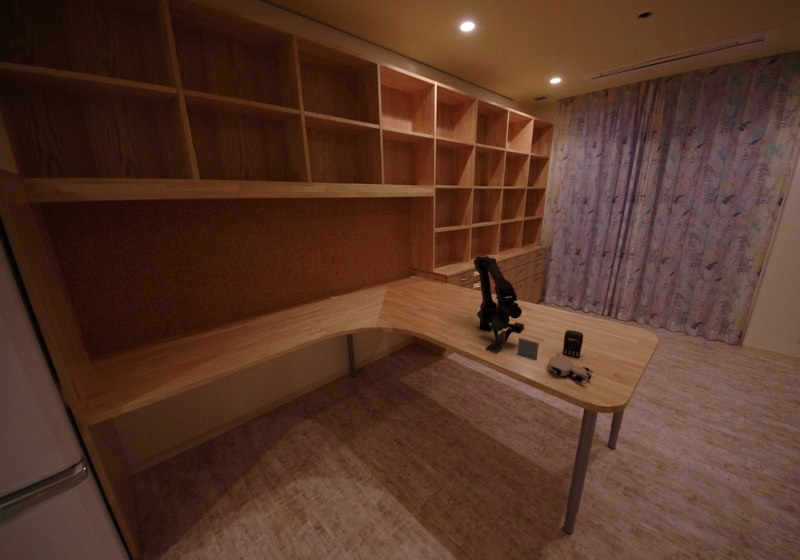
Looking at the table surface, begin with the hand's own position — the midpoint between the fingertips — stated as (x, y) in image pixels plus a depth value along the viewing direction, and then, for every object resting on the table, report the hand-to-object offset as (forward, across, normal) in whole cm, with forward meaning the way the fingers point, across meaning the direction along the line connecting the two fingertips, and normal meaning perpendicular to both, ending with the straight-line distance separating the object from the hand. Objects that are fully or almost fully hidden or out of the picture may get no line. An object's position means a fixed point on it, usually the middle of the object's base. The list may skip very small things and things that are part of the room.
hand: (501, 340), depth 141 cm
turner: (+1, 0, -4) cm, 4 cm away
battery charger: (+1, +29, +6) cm, 30 cm away
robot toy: (+1, +31, -10) cm, 33 cm away
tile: (+1, +14, -6) cm, 15 cm away
